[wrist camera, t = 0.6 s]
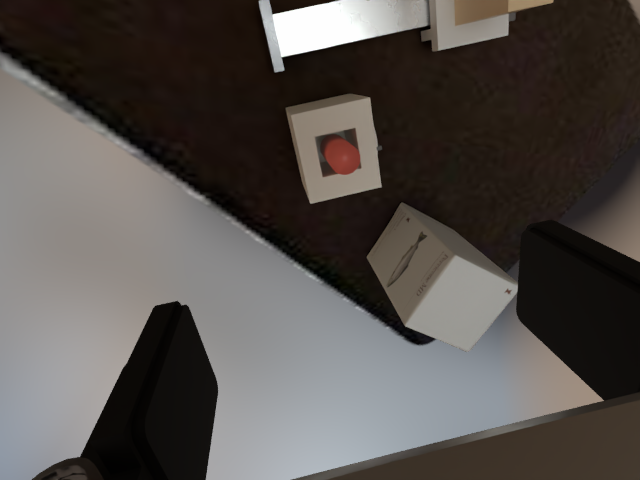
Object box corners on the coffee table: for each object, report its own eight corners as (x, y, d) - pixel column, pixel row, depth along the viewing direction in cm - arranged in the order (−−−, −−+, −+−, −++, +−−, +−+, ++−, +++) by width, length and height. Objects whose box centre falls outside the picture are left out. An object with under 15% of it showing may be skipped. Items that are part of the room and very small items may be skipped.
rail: (258, 6, 30) (258, 0, 28) (499, -44, 31) (517, -54, 29) (273, 72, 32) (274, 72, 30) (498, 23, 33) (515, 19, 31)
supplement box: (400, 199, 39) (457, 251, 27) (453, 228, 41) (527, 287, 30) (363, 256, 41) (402, 327, 29) (415, 281, 43) (471, 355, 32)
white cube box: (285, 107, 33) (290, 115, 27) (356, 91, 34) (378, 95, 27) (301, 181, 36) (310, 203, 30) (367, 166, 37) (389, 185, 30)
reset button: (317, 137, 30) (327, 147, 26) (343, 131, 31) (357, 140, 26) (322, 163, 31) (333, 177, 27) (347, 157, 31) (362, 171, 27)
